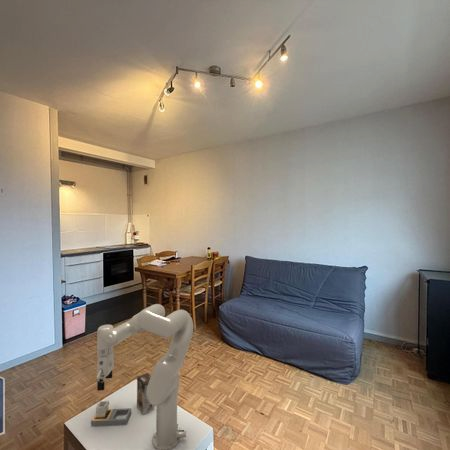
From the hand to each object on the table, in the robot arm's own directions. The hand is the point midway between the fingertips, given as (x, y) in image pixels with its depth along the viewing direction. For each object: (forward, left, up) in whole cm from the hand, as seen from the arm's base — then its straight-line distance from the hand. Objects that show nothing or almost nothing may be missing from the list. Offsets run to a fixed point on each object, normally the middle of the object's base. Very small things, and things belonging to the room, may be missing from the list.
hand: (105, 383), depth 125 cm
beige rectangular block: (+1, 0, -19) cm, 18 cm away
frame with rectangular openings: (-4, 0, -18) cm, 19 cm away
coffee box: (-19, -8, -19) cm, 28 cm away
